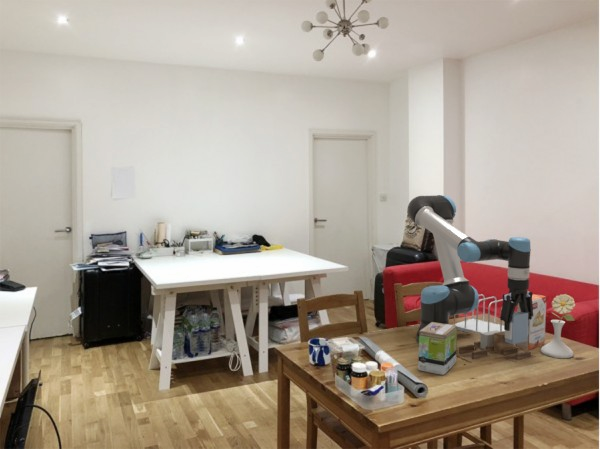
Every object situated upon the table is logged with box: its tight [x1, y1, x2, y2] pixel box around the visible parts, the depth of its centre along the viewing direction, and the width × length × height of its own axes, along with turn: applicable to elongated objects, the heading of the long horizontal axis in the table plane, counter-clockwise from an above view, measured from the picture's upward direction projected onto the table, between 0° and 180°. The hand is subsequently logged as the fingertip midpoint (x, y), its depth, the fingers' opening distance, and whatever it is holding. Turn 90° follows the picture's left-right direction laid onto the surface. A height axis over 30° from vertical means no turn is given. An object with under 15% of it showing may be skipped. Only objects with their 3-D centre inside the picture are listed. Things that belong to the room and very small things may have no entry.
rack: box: [473, 340, 537, 363], centre depth 198 cm, size 20×12×3 cm, turn 27°
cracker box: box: [515, 293, 547, 351], centre depth 205 cm, size 14×6×21 cm, turn 130°
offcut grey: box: [479, 330, 501, 349], centre depth 203 cm, size 4×9×6 cm, turn 117°
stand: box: [456, 344, 491, 363], centre depth 194 cm, size 8×10×4 cm
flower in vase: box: [540, 293, 576, 359], centre depth 193 cm, size 13×11×25 cm
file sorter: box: [452, 293, 514, 335], centre depth 229 cm, size 25×17×16 cm
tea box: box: [417, 322, 458, 376], centre depth 184 cm, size 15×10×15 cm, turn 148°
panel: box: [505, 310, 528, 345], centre depth 192 cm, size 4×8×11 cm, turn 117°
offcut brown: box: [494, 331, 515, 354], centre depth 197 cm, size 4×7×8 cm, turn 117°
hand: (516, 336), depth 192 cm, fingers closed on panel, 8 cm apart
